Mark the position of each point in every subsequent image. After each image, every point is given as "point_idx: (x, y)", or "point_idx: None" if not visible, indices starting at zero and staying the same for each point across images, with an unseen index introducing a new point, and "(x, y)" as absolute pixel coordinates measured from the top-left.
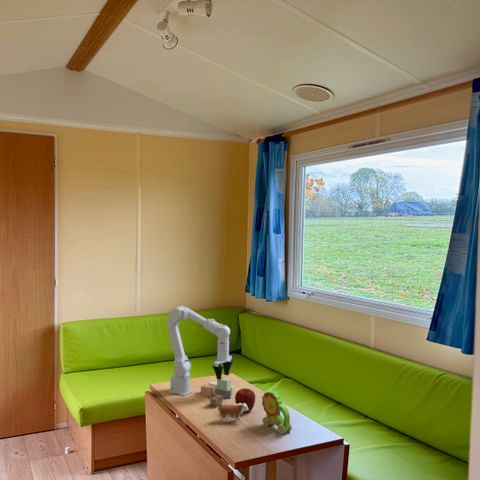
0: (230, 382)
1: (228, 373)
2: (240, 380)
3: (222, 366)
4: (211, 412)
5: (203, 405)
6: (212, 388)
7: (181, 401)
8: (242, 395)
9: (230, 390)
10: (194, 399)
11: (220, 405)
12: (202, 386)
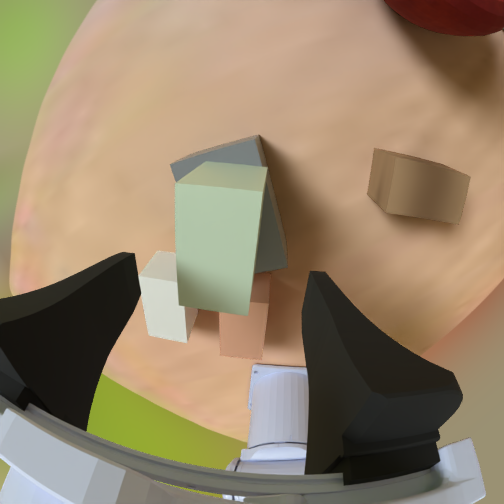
0: (194, 174)
1: (119, 259)
2: (14, 231)
3: (398, 414)
4: (492, 169)
5: (427, 244)
6: None
7: None
8: None
9: (238, 147)
10: None
11: None
12: (262, 352)
